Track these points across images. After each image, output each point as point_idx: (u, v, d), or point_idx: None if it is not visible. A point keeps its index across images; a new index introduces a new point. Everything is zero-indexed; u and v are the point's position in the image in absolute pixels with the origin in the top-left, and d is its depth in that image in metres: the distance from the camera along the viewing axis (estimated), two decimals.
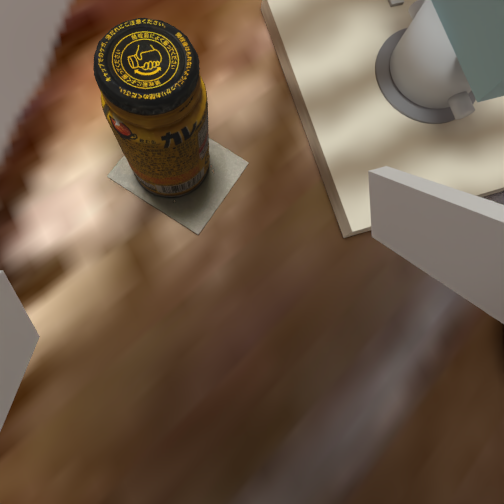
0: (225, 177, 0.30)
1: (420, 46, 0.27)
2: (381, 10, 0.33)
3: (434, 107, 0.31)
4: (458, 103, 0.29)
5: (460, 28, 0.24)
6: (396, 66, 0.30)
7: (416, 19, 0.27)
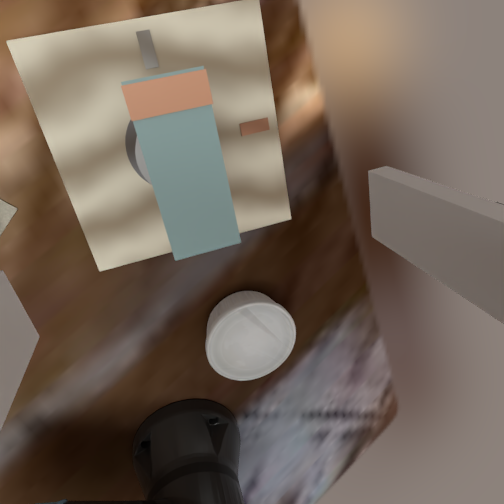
0: None
1: None
2: (135, 73, 0.35)
3: None
4: None
5: None
6: None
7: (136, 139, 0.32)
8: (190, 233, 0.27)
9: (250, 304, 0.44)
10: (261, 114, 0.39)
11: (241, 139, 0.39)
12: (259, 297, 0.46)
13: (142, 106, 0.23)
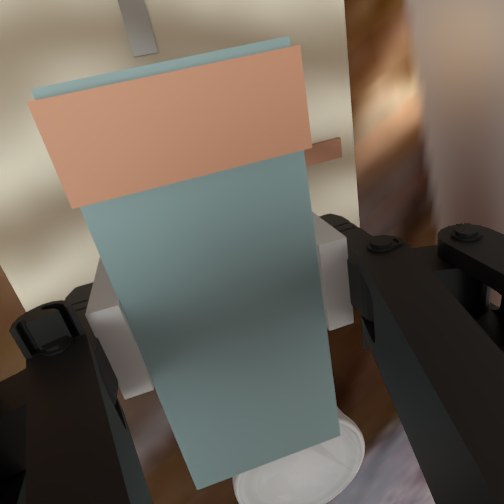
0: None
1: None
2: (116, 64, 0.19)
3: None
4: None
5: None
6: None
7: None
8: (233, 437, 0.12)
9: None
10: (330, 132, 0.23)
11: None
12: None
13: (103, 165, 0.07)
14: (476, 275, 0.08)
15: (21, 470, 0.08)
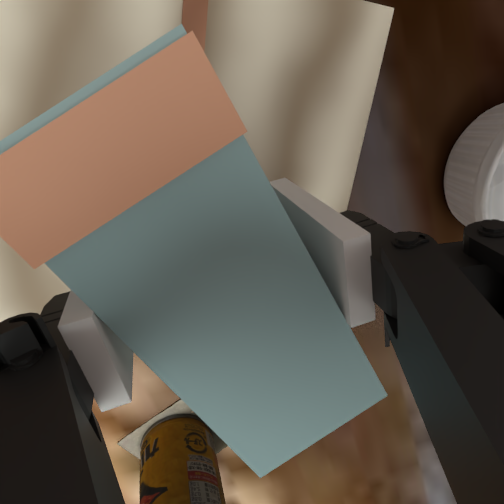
0: None
1: None
2: None
3: None
4: None
5: None
6: None
7: None
8: (277, 423, 0.12)
9: (495, 161, 0.23)
10: None
11: (210, 56, 0.20)
12: (488, 133, 0.25)
13: (46, 220, 0.07)
14: (502, 271, 0.08)
15: None
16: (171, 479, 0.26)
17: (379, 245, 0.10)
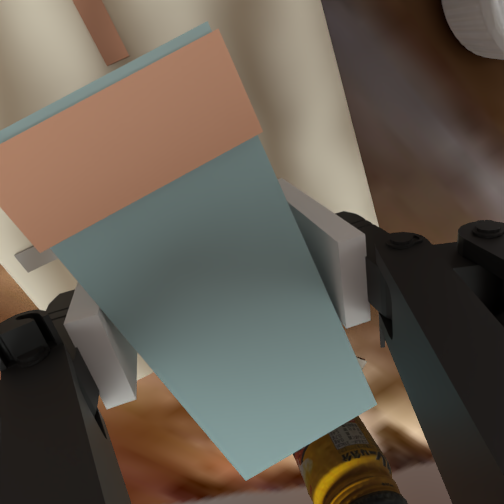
0: None
1: None
2: None
3: None
4: None
5: None
6: None
7: None
8: (266, 426, 0.12)
9: None
10: (70, 15, 0.18)
11: (136, 53, 0.19)
12: None
13: (56, 204, 0.07)
14: (496, 272, 0.08)
15: None
16: None
17: (374, 246, 0.10)
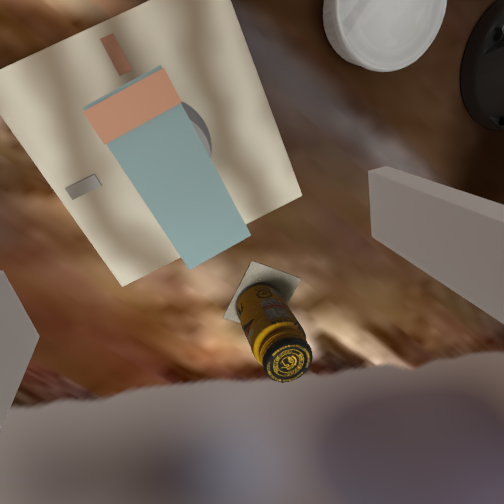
0: (263, 272, 0.47)
1: None
2: (108, 193, 0.37)
3: None
4: None
5: None
6: None
7: None
8: (197, 239, 0.26)
9: (338, 18, 0.33)
10: (99, 47, 0.32)
11: (136, 68, 0.33)
12: None
13: (110, 126, 0.22)
14: None
15: None
16: (254, 314, 0.42)
17: None
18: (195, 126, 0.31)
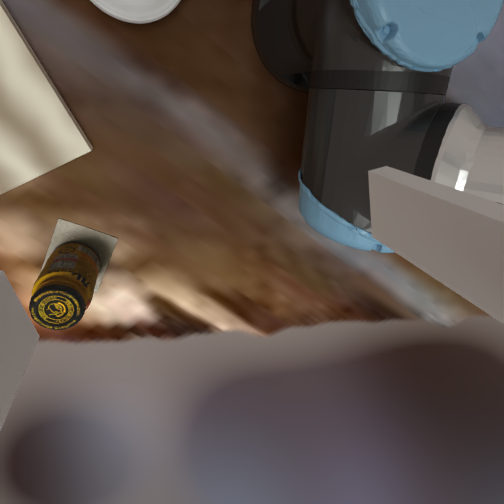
0: (74, 230, 0.48)
1: None
2: None
3: None
4: None
5: None
6: None
7: None
8: None
9: None
10: None
11: None
12: None
13: None
14: None
15: None
16: (44, 267, 0.43)
17: None
18: None
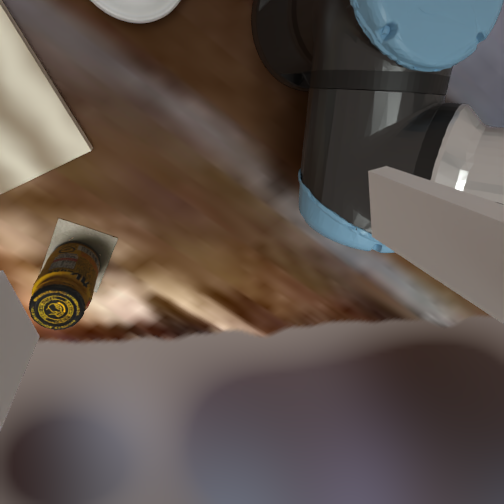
0: (74, 230, 0.48)
1: None
2: None
3: None
4: None
5: None
6: None
7: None
8: None
9: None
10: None
11: None
12: None
13: None
14: None
15: None
16: (44, 267, 0.43)
17: None
18: None
